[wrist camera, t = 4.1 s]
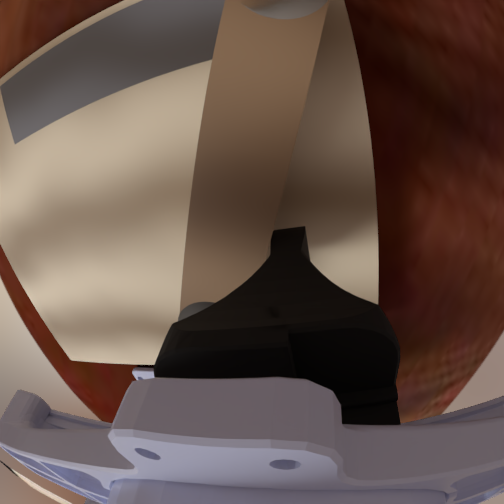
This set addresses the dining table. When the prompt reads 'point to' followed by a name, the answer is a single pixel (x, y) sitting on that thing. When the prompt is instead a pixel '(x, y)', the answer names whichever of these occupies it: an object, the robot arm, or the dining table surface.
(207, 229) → the walnut leg
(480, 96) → the dining table surface
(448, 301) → the dining table surface
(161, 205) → the maple seat
